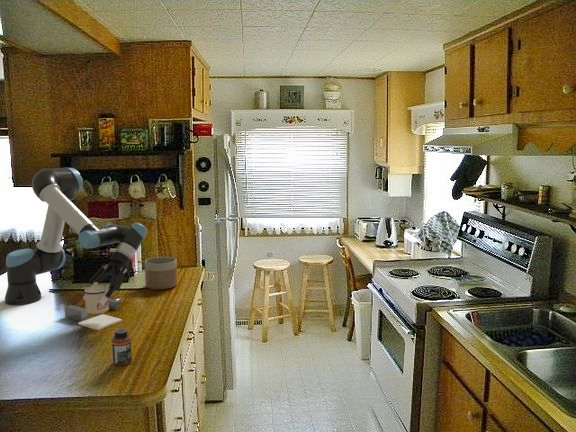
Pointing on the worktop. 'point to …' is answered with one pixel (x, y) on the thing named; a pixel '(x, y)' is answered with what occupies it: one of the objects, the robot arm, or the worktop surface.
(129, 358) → the supplement bottle
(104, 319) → the tile
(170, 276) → the planter
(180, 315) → the worktop surface
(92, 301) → the teacup with lid
